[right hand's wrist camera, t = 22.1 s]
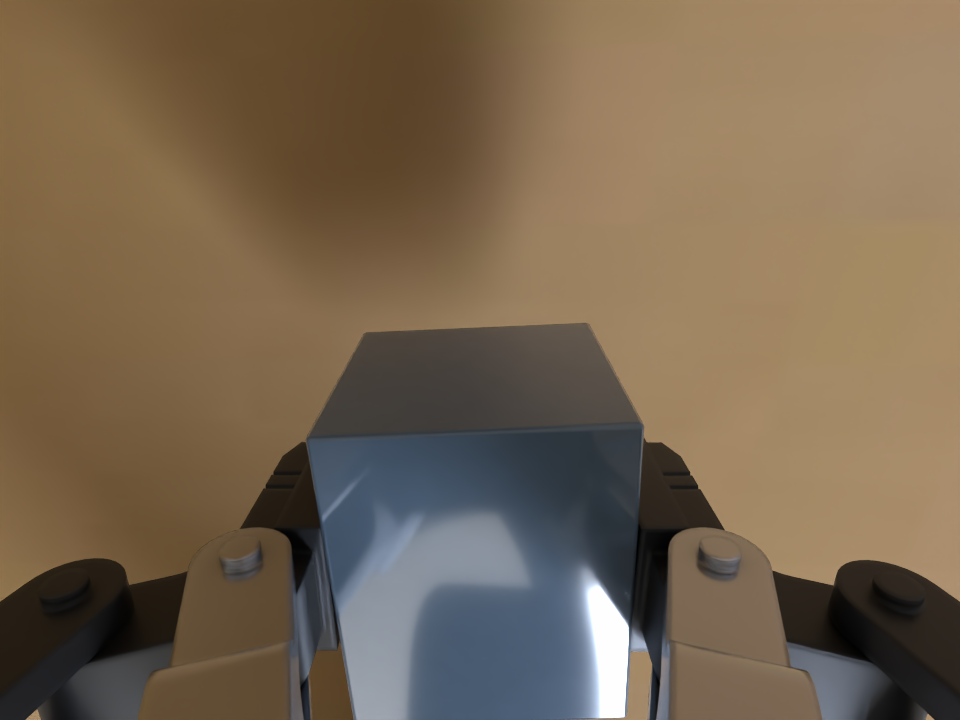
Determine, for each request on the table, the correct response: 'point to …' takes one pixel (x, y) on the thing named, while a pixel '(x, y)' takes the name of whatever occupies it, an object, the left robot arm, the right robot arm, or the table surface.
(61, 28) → the table surface
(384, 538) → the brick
